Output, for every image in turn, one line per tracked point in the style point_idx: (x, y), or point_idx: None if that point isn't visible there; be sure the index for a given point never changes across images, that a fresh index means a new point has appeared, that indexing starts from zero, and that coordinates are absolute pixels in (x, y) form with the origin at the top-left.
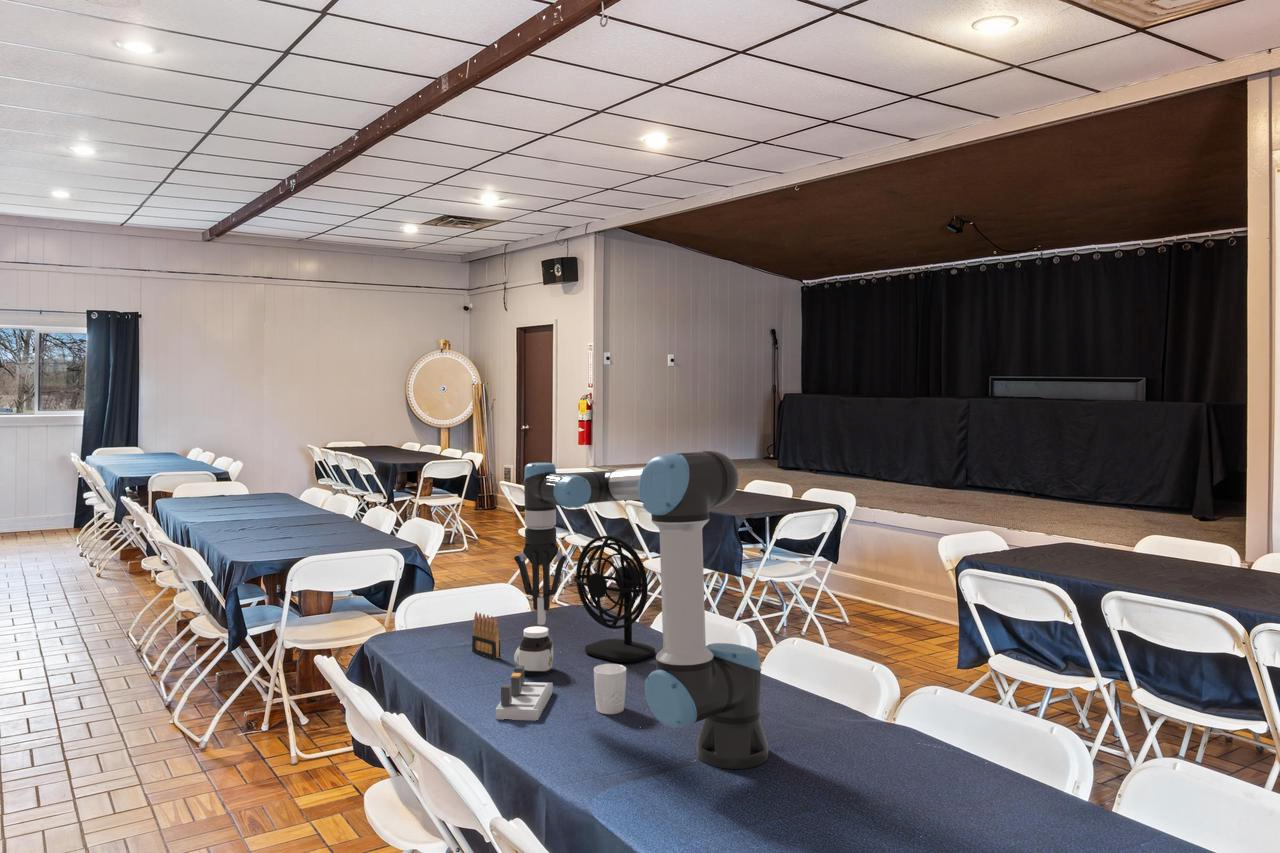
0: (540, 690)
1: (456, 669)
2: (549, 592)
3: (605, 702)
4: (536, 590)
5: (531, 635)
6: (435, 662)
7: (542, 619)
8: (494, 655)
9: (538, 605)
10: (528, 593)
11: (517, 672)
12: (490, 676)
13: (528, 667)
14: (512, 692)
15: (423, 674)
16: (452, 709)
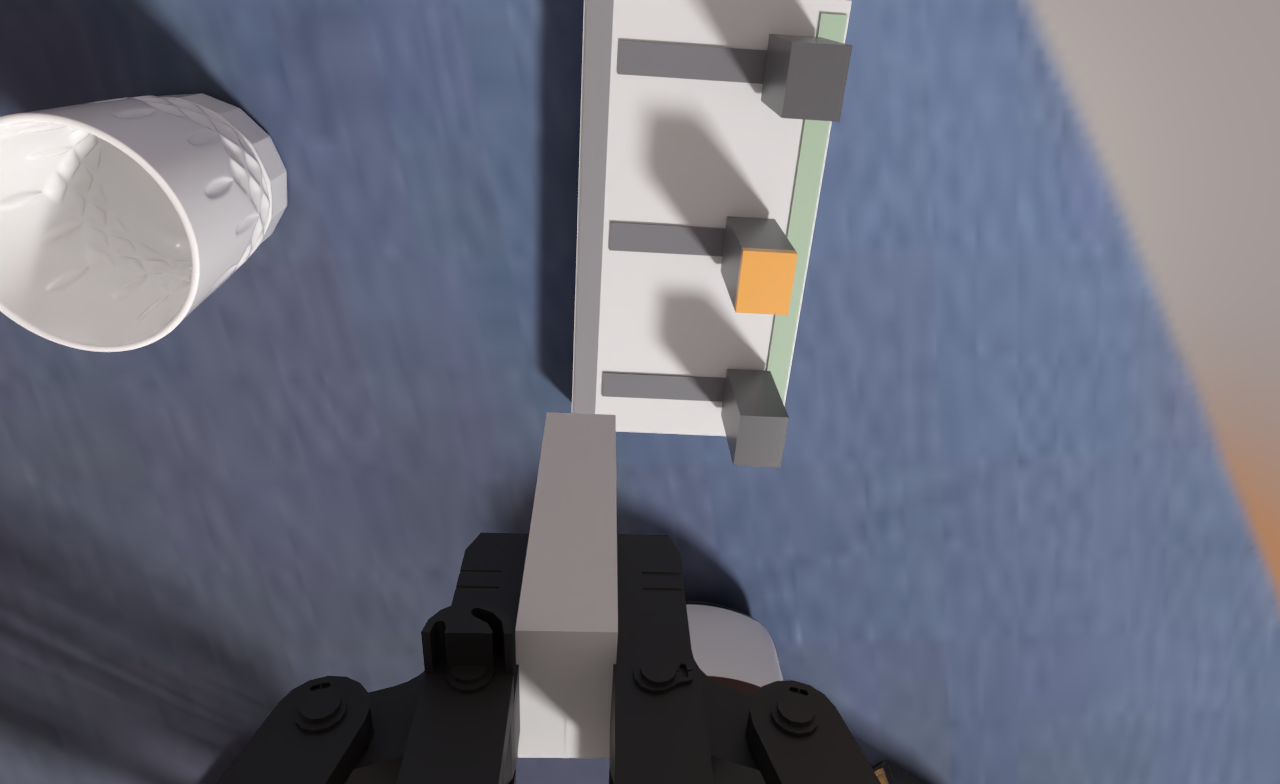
0: (618, 317)
1: (1052, 657)
2: (402, 731)
3: (177, 100)
4: (635, 743)
5: None
6: (1141, 724)
7: (556, 444)
8: (894, 777)
9: (601, 552)
10: (777, 698)
11: (765, 405)
12: (896, 588)
13: (724, 617)
14: (770, 222)
15: (1202, 600)
16: (1081, 156)
